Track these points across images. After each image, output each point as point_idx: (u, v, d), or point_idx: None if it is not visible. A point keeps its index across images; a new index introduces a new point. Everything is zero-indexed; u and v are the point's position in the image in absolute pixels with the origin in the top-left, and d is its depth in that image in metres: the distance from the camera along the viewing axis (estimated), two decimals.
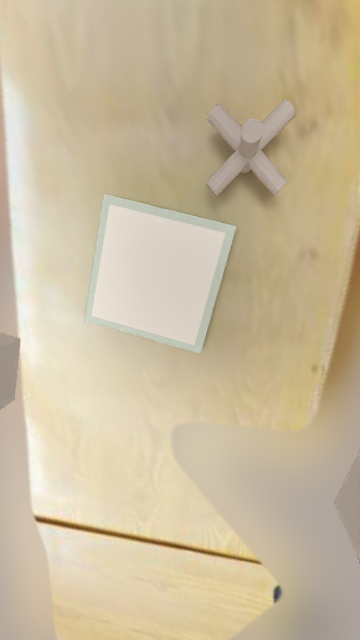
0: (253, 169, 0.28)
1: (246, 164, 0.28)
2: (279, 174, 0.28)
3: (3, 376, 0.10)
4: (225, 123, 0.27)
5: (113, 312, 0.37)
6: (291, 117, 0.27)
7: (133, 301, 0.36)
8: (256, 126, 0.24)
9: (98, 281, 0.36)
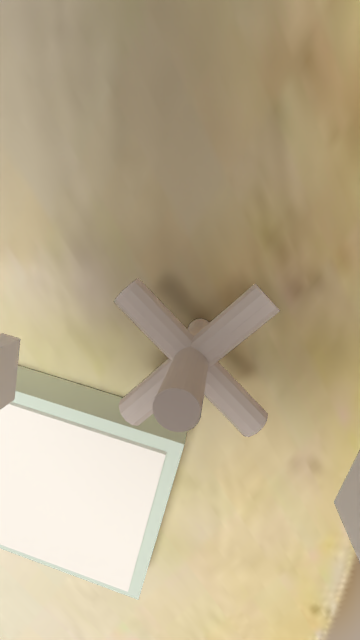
0: None
1: None
2: (251, 409, 0.15)
3: (3, 376, 0.10)
4: (145, 321, 0.14)
5: (4, 534, 0.24)
6: (271, 317, 0.14)
7: (31, 525, 0.23)
8: (184, 404, 0.10)
9: None
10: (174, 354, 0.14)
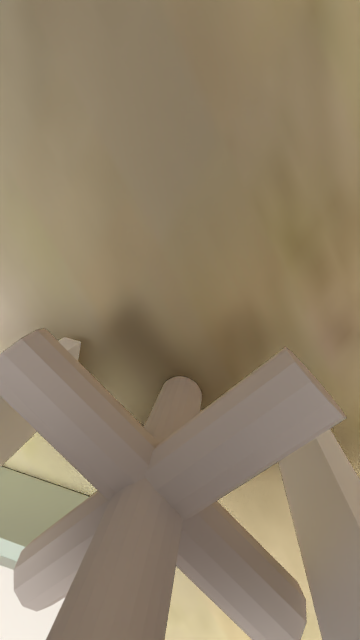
0: None
1: None
2: (274, 605, 0.07)
3: None
4: (45, 427, 0.06)
5: None
6: None
7: None
8: None
9: None
10: (110, 495, 0.07)
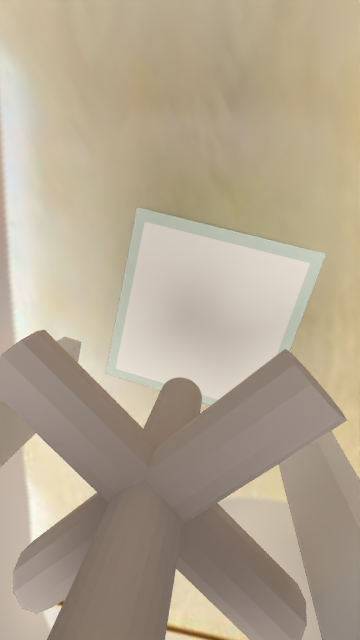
0: None
1: None
2: (274, 607, 0.07)
3: None
4: (44, 430, 0.06)
5: (145, 365, 0.27)
6: (325, 430, 0.06)
7: (173, 351, 0.26)
8: None
9: (126, 324, 0.26)
10: (110, 497, 0.07)
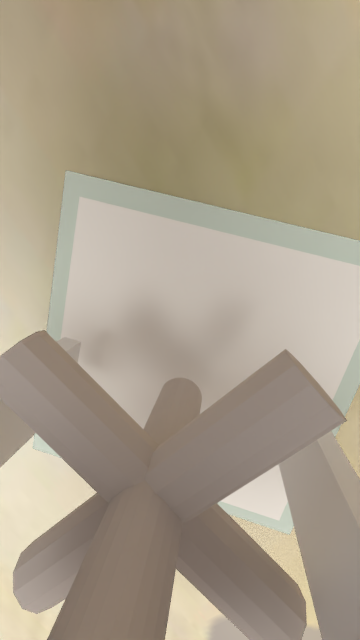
0: None
1: None
2: (274, 607, 0.07)
3: None
4: (44, 430, 0.06)
5: None
6: None
7: (139, 421, 0.16)
8: None
9: None
10: (109, 498, 0.07)
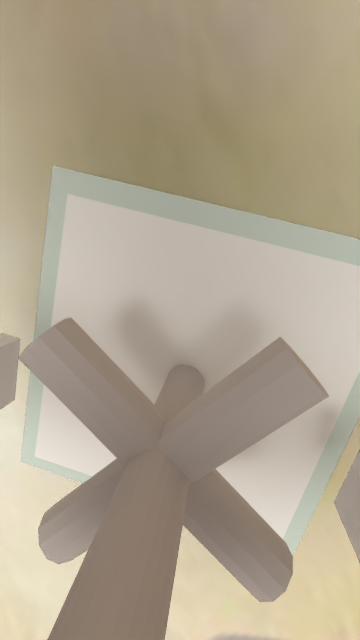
0: None
1: None
2: (265, 558, 0.08)
3: (3, 376, 0.10)
4: (73, 401, 0.08)
5: (85, 453, 0.15)
6: None
7: None
8: None
9: None
10: (127, 461, 0.08)
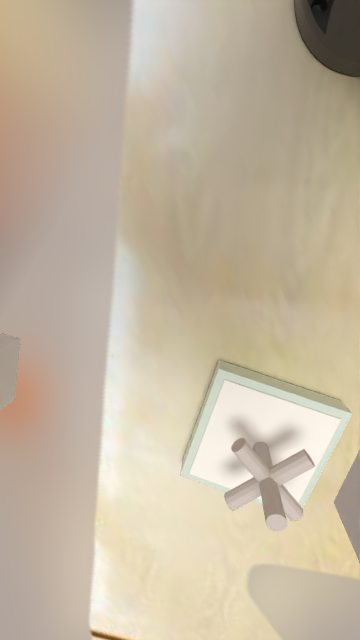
0: None
1: None
2: (296, 508, 0.30)
3: (3, 376, 0.10)
4: (249, 464, 0.29)
5: (213, 473, 0.36)
6: None
7: (235, 466, 0.36)
8: (280, 520, 0.25)
9: (201, 444, 0.36)
10: (261, 480, 0.29)
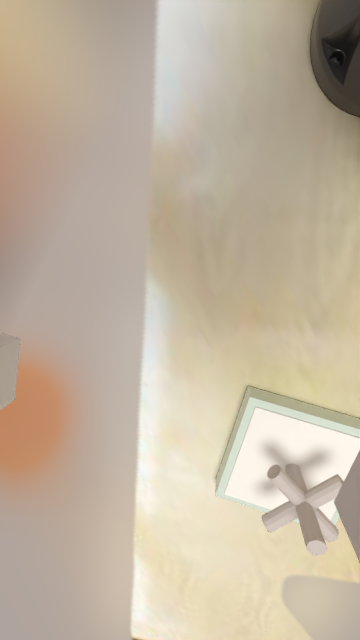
0: None
1: None
2: (331, 529, 0.31)
3: (3, 376, 0.10)
4: (285, 490, 0.31)
5: (247, 493, 0.38)
6: None
7: (269, 486, 0.38)
8: (320, 546, 0.27)
9: (235, 467, 0.38)
10: (297, 504, 0.31)
